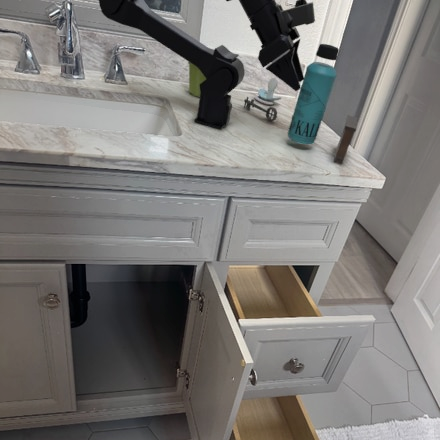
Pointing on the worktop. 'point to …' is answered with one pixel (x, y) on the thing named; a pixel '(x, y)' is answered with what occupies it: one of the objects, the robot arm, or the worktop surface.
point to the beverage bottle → (313, 97)
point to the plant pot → (195, 79)
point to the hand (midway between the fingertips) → (300, 85)
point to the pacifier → (268, 93)
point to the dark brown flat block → (345, 139)
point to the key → (251, 103)
